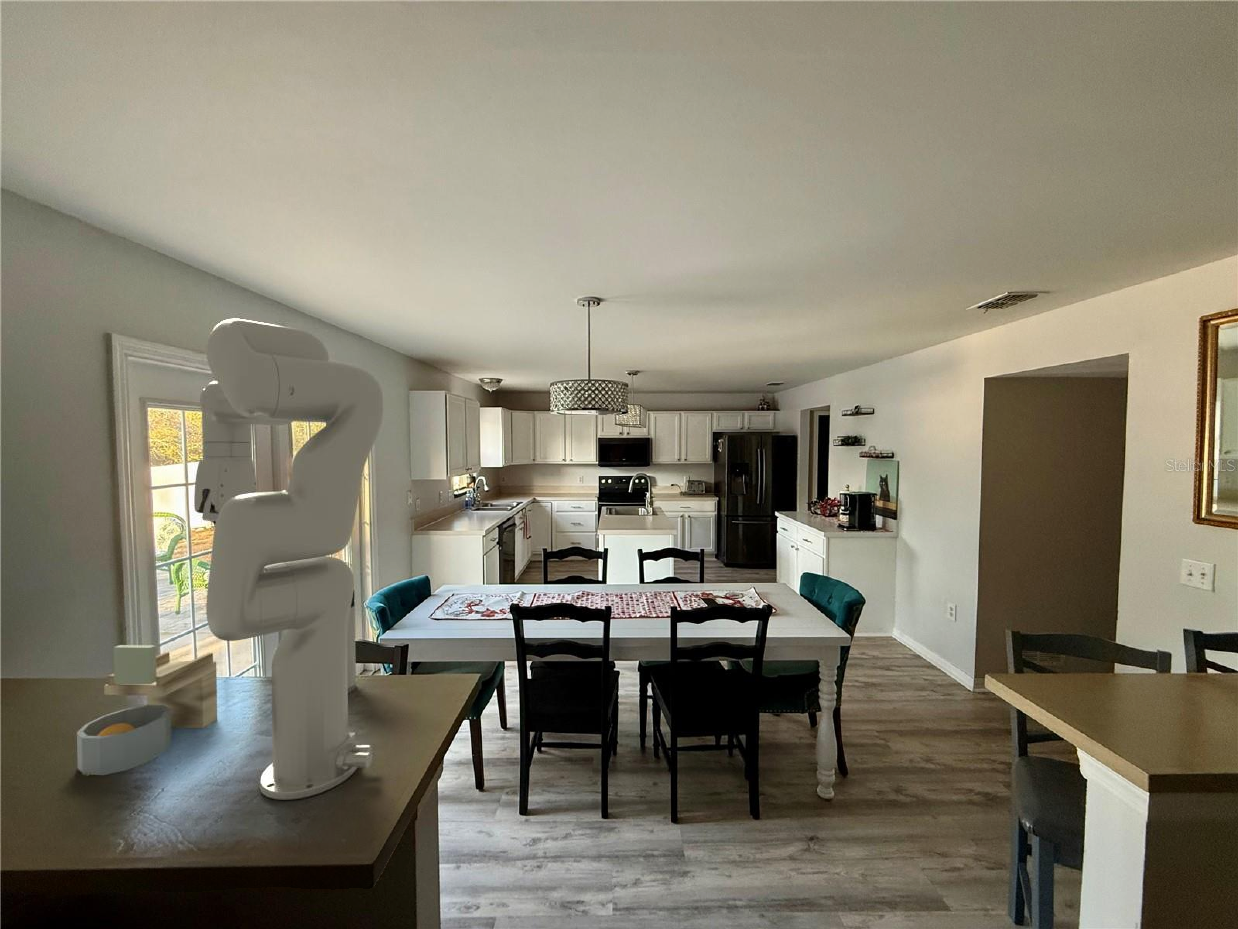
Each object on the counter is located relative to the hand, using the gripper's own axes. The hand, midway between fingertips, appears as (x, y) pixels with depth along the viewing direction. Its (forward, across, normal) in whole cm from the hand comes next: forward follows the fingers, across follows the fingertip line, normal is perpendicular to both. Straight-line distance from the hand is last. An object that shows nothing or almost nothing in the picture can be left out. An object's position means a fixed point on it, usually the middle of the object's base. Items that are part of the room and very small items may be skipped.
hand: (229, 548), depth 99 cm
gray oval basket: (+29, +18, -2) cm, 35 cm away
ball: (+26, +20, -2) cm, 33 cm away
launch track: (+29, +12, -2) cm, 32 cm away
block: (+19, +17, -2) cm, 25 cm away
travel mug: (+29, -5, +18) cm, 35 cm away
